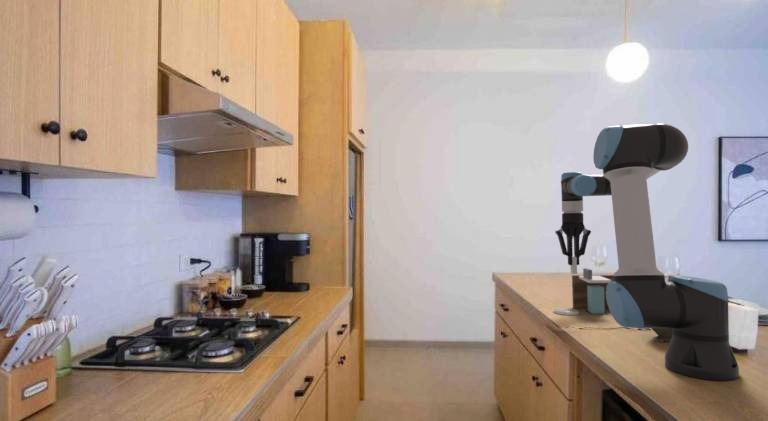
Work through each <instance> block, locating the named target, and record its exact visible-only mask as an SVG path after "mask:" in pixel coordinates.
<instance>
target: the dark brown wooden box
mask: <svg viewBox="0 0 768 421" xmlns="http://www.w3.org/2000/svg"><path fill="white" fill-rule="evenodd" d="M579 276H583V274H571V287H572V309H575V310H578V309H580V310H582V309H584V310H585V309H587V310H585V312H586V313H587V314H589V315H593V316H594V315H596V316H597V315H599V316H600V315H602V316H603V315H604V316H606V315H607V316H608V315H609V314H608V313H606V312H605V311H604V313H605V314H592V313H590V312H588V298H587V285H599V286H602V287H604V310H605V309H606V310H609V307H608V304H607V299H606V291H607V290H606V287H607V284H608V283H588V282H586V281H584V280H581V279H579ZM592 276H602V277H604V278H607V279H610V280H611V282H612V281H614V280H613V274H592Z"/></svg>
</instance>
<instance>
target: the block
mask: <svg viewBox="0 0 768 421" xmlns="http://www.w3.org/2000/svg"><path fill="white" fill-rule="evenodd" d="M587 298H588V309H587V311H588V312H590V313H592V314H605V313H606V312H605V309H604V287H602V286H599V285H587ZM604 312H605V313H604Z"/></svg>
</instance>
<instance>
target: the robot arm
mask: <svg viewBox="0 0 768 421" xmlns="http://www.w3.org/2000/svg"><path fill="white" fill-rule="evenodd" d="M688 152H689V142H688V139H687V137H686V135H685V134H684V133H683V131H681V130H680V129H679V128H677V127H675V126H674V125H671V124H666V123H653V124H625V125H624V124H618V125H613V126H612V125H611V126H606V127H604V128H603V129H601V131H600V132H599V134H598V135H597V137H596V140H595V144H594V147H593V163H594V167H595V168H596V169H599V170H602V173H603V174H590V175H589V174H583V173H582V172H581V171H578V172H577V171H570V172H569V171H568V172H563V173H562V174H561V178H560V188H561V212H563V213H562V214H561V223H562V224H561V226H560V228H559V229H557V230H554V231H555V232H554V233H555V235H556V236H557V238H558V241H559V246H560V250H561V253H562V255H564V256H567V264H568V266H570V274H571V275H578V266H580V257H581V256H584V255H585V253H586V248H587V244H588V241H589V236H590V235H591V233H592V231H591V230H590V229H587V228H586V227H585V224H584V213H583V211H584V198H583V197H597V196H599V197H601V196H603V197H604V196H611V201H612V203H611V204H612V211H613V213H612V214H613V222H614V223H613V224H614V234H615V243H616V244H615V245H616V254H617V262H618V269H617V270H616V271H615V272H614V274H612V275H613V280H614V281H612V282H610V283H608V284H607V287H606V290H607V291H606V299H607V304H608V307H609V309H608V310H609V312H610V315H611V316H612V319H614V321H615V322H616V323H617V324H618V325H619V326H621V327H623V328H633V329H639V330H641V329H652V328H672V338H671V341H670V342H669V344H668V346H667V349H666V352H665V354H664V366H666V368H667V369H669V370H671V371H673V372H676V373H677V374H681V375H684V376H686V377H687V376H688V377H690V378H691V377H692V378H695V379H696V378H697V379H703V380H707V381H732V380H733V381H734V380H735V379H738V378H739V377H740V368H739V365H738V361H737V360H736V357H735V354H734V352H733V349H732V346H731V345H730V329H729V327H730V326H729V324H730V323H729V303H730V299H729V293H728V288H727V286H726V285H725V284H723V283H722V282H720V281H716V280H712V279H706V278H700V277H695V276H688V275H687V276H685V275H670V276H671V279H670V281H671V282H668V281H666V279H665V278H666V277H665V276H666V275H665V273H664V272H662V271H661V270H659V268H658V267H657V260H656V250H655V242H654V241H655V240H654V233H653V232H654V231H653V225H652V215H651V206H650V199H649V198H650V197H649V191H648V182H647V180H648V179H650V178H651V177H653V176H655V175H656V174H658V173H659V172H661V171H663V172H664V171H668V170H671V169H673V168H675V167H676V166H678V165H680V163H682V162H683V161H684V160H685V158H686V157H687V154H688ZM563 234H565V236H566V243H565V238H564V235H563ZM581 234H583V235H582V238H580V236H581ZM580 239H581V243H580ZM573 254H574V256H573Z"/></svg>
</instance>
